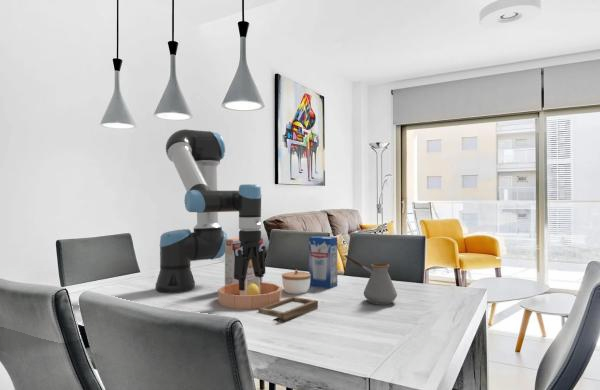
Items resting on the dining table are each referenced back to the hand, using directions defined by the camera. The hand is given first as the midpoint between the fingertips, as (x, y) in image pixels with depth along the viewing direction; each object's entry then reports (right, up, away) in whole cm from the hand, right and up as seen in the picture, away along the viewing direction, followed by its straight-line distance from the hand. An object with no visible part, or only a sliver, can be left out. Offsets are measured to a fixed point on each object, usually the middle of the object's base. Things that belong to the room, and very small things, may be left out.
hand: (250, 297), depth 138 cm
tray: (+13, -2, -9) cm, 17 cm away
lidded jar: (+16, -3, +13) cm, 21 cm away
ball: (0, -1, 0) cm, 1 cm away
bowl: (0, -2, 0) cm, 2 cm away
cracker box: (-5, -3, +18) cm, 19 cm away
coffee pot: (+41, -2, +6) cm, 42 cm away
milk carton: (+27, -3, +29) cm, 39 cm away
